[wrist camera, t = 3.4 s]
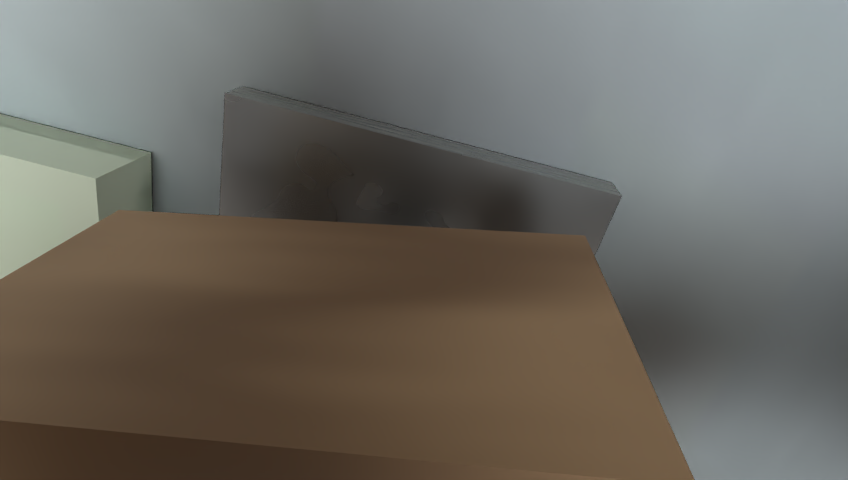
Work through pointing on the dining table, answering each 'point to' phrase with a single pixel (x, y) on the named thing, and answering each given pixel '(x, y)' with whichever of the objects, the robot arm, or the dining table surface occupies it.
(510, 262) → the brown piece
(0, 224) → the tray
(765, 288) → the dining table surface
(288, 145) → the stake
